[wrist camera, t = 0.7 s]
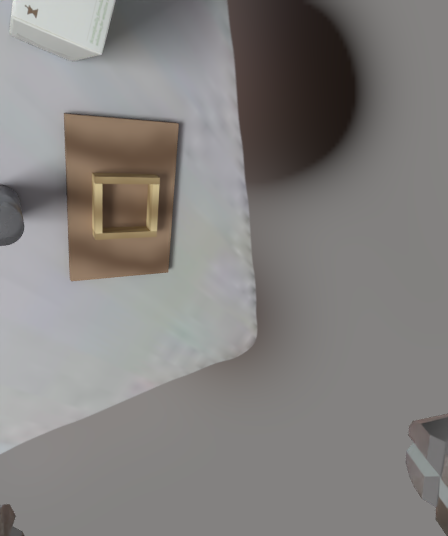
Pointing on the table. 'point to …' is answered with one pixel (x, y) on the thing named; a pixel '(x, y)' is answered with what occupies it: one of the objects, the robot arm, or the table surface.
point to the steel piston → (10, 216)
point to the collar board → (119, 195)
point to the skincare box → (63, 25)
